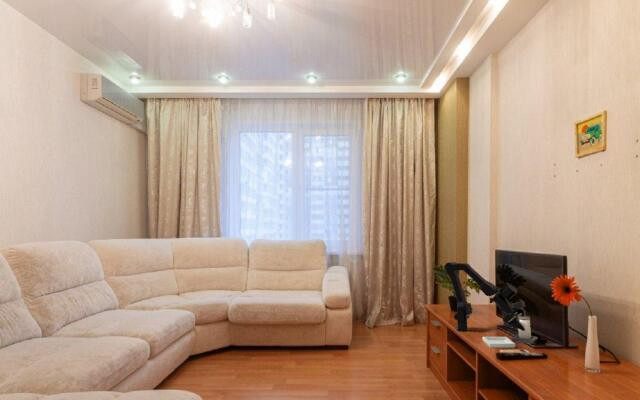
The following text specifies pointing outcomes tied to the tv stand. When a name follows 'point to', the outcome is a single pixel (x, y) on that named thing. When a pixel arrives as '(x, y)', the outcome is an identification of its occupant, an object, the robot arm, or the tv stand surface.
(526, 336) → the stop cylinder
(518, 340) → the collar
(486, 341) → the tray
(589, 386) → the tv stand surface
